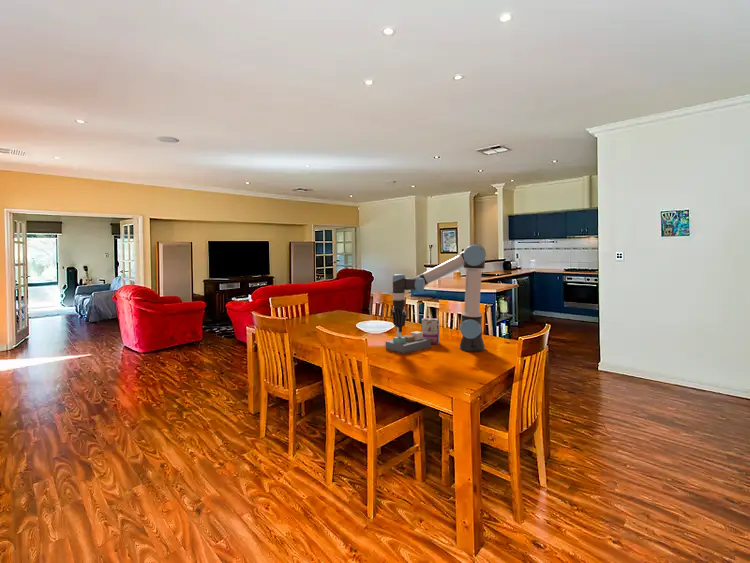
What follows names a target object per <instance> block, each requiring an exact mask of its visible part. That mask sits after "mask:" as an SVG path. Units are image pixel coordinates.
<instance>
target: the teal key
mask: <svg viewBox="0 0 750 563" xmlns="http://www.w3.org/2000/svg"><path fill="white" fill-rule="evenodd" d="M392 338H393V339H392V340H393V343H396V344H402V343H406V338H405V337H399V338H398V337H397V336H393V337H392Z"/></svg>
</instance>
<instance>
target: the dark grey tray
mask: <svg viewBox="0 0 750 563" xmlns="http://www.w3.org/2000/svg"><path fill="white" fill-rule="evenodd" d="M430 348H432V344H431V339H427V338H423V339H420V340H415V341H411V342H406V343H402V344H396V343H393V339H390V340H386V341H385V350H388V351H390V352H394V353H397V354H401V355H405V354H409V353H413V352H417V351H422V350H424V349H430Z"/></svg>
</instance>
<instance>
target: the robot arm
mask: <svg viewBox="0 0 750 563" xmlns="http://www.w3.org/2000/svg"><path fill="white" fill-rule="evenodd" d="M486 255H487V254H486V249H485V248H484V246H482V245H480V244H470V245H468V246H467V247H466V248H465V250H463V251H461V252H460V253H459V254H458V255H457V256H455V257H453V258H451V259H449V260H446V261H445V262H443V263H441V264H439V265H437V266H434V267H432V268H431V269H429V270H426V271H425V272H423V273H420V274H418V275H416V276H414V277H406V276H405V274H404V273H403V274H402V273H396V274H395V273H394V274H393V275H392V281H391V282H392V306H393V308H392V309H390V312H391V316H392V322H393V326H395V330H396V337H398V338H399V337H402V336H403V335H402V334H403V333H402V332H403V327H405V325H406V318H407V315H408V311H407V310H405V306H406V300H405V299H406V291H424V290H425V287H426V286H427V285H428V284H430V283H433V282H435V281H437V280H440V279H441V278H444V277H446V276H447V275H449V274H452V273H453V272H456V271H458V270H460V269H461V268H463V269H464V270H465V272H466V273H465V289H464V290H465V291H464V308H463V311H462V313H461V316H460V325H459V330H460V333H461V335H462V338H461V340H460V343H459V349H460V350H461V351H465V352H469V353H470V352H471V353H473V352H474V353H478V352H483V351H485V350H486V345H485V343H484V340H483V314H482V312H480V304H481V290H482V289H481V287H482V286H481V285H482V272H483V270H485V265H486V264H485V263H486Z"/></svg>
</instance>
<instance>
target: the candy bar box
mask: <svg viewBox="0 0 750 563" xmlns="http://www.w3.org/2000/svg"><path fill="white" fill-rule="evenodd" d="M420 322H421V324H420V325H421V326H420V328H421V331H420V332H423V338H427V339H431V345H439V344H440V318H427V317H426V318H424V317H422V318H421V320H420Z"/></svg>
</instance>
